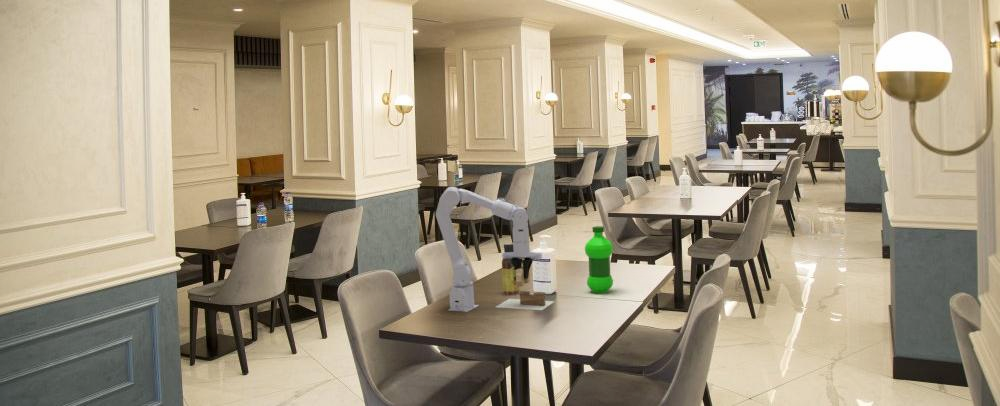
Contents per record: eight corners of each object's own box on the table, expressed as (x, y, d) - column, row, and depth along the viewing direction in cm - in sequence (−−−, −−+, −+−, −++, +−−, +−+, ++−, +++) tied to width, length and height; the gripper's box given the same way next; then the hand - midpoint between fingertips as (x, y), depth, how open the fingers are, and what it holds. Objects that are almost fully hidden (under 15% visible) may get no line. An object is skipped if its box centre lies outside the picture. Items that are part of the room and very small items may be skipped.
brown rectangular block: (543, 306, 268) (543, 293, 268) (520, 304, 272) (519, 292, 271) (545, 304, 270) (544, 292, 269) (522, 303, 274) (521, 291, 273)
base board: (542, 311, 263) (541, 310, 262) (495, 308, 270) (494, 307, 270) (554, 302, 274) (554, 301, 274) (509, 300, 282) (509, 298, 282)
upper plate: (521, 286, 268) (520, 270, 267) (516, 286, 268) (516, 269, 268) (529, 281, 275) (529, 265, 274) (525, 281, 276) (524, 265, 275)
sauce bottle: (517, 296, 287) (515, 245, 285) (501, 296, 288) (499, 245, 286) (520, 292, 293) (518, 242, 291) (504, 292, 294) (502, 242, 292)
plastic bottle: (595, 287, 296) (593, 224, 293) (619, 290, 289) (617, 226, 286) (581, 293, 288) (579, 228, 285) (605, 296, 281) (603, 229, 278)
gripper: (544, 239, 270) (545, 276, 272) (506, 239, 276) (508, 275, 278) (536, 242, 264) (538, 280, 266) (499, 242, 270) (501, 279, 271)
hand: (523, 278), depth 271 cm, fingers closed on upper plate, 2 cm apart
